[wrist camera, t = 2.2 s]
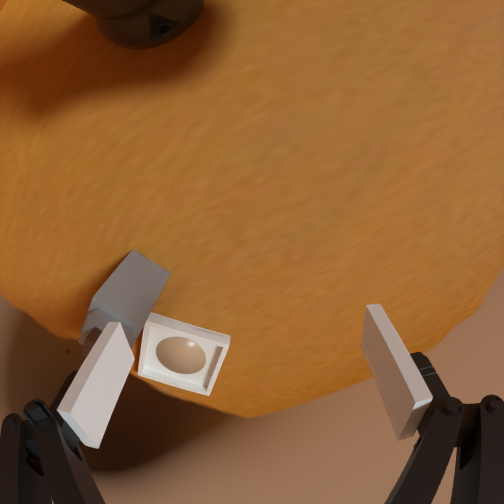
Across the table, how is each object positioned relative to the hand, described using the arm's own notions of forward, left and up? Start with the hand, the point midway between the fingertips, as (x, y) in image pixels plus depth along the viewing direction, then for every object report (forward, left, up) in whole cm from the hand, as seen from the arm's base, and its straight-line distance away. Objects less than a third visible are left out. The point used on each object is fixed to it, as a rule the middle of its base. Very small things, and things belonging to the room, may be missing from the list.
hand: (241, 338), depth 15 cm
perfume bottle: (-12, -16, -28) cm, 34 cm away
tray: (-3, -29, -27) cm, 40 cm away
